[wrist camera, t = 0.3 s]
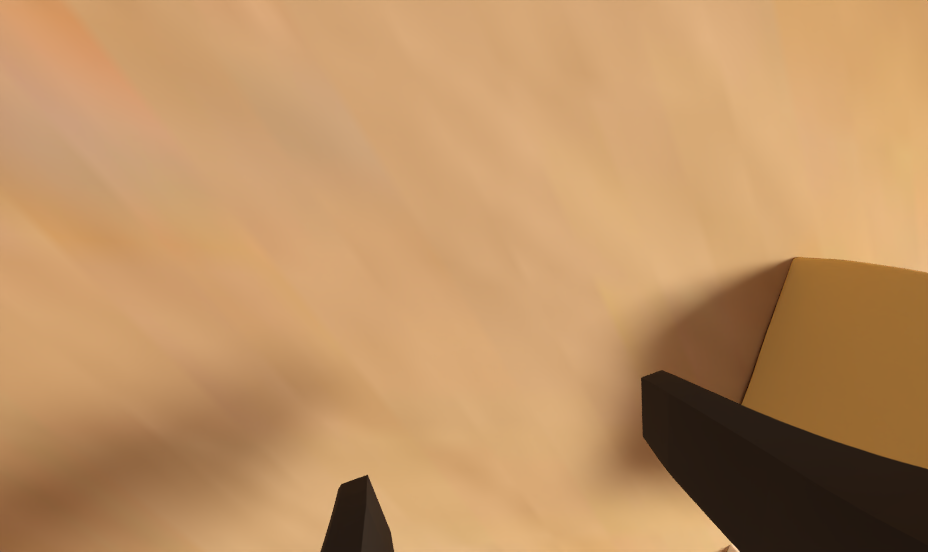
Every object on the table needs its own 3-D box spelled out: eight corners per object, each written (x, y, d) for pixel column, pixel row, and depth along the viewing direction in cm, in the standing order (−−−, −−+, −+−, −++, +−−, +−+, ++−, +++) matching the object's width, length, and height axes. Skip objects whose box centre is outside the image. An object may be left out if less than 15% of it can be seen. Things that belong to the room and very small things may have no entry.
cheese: (913, 277, 27) (1209, 332, 17) (848, 430, 29) (1085, 555, 19) (786, 246, 24) (1055, 292, 15) (725, 417, 26) (928, 554, 17)
